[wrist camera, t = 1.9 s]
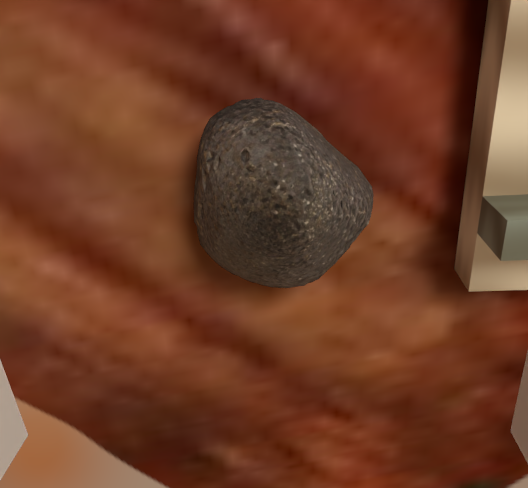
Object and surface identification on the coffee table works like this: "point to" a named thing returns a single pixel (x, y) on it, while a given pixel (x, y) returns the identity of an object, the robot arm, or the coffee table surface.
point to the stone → (275, 195)
